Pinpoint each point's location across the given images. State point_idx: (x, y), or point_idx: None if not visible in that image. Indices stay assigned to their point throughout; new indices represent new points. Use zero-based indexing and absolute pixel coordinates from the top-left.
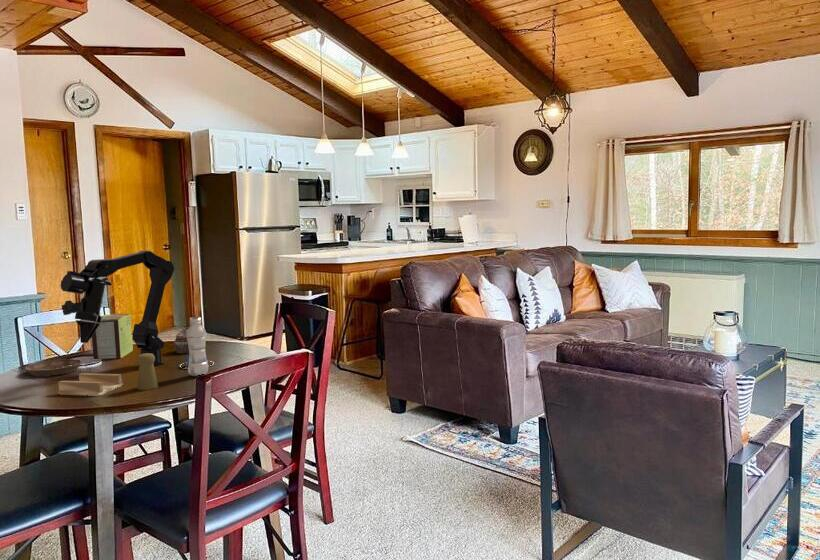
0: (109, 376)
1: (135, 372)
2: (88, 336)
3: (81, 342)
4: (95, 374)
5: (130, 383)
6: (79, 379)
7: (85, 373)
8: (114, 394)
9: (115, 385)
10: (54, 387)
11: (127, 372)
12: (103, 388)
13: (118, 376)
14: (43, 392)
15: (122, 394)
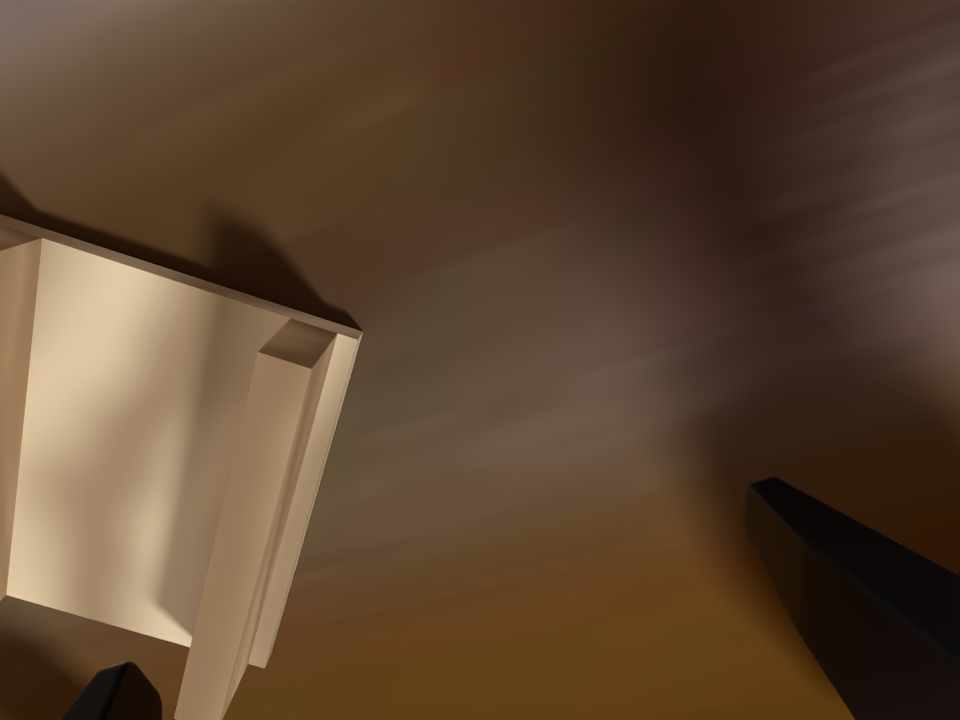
0: (193, 642)
1: (720, 647)
2: (840, 649)
3: (107, 678)
4: (233, 523)
5: (324, 686)
6: (278, 332)
7: (295, 408)
8: (10, 654)
9: (183, 636)
10: (271, 48)
11: (748, 586)
12: (92, 575)
13: (180, 711)
14: (69, 8)
15: (12, 700)
